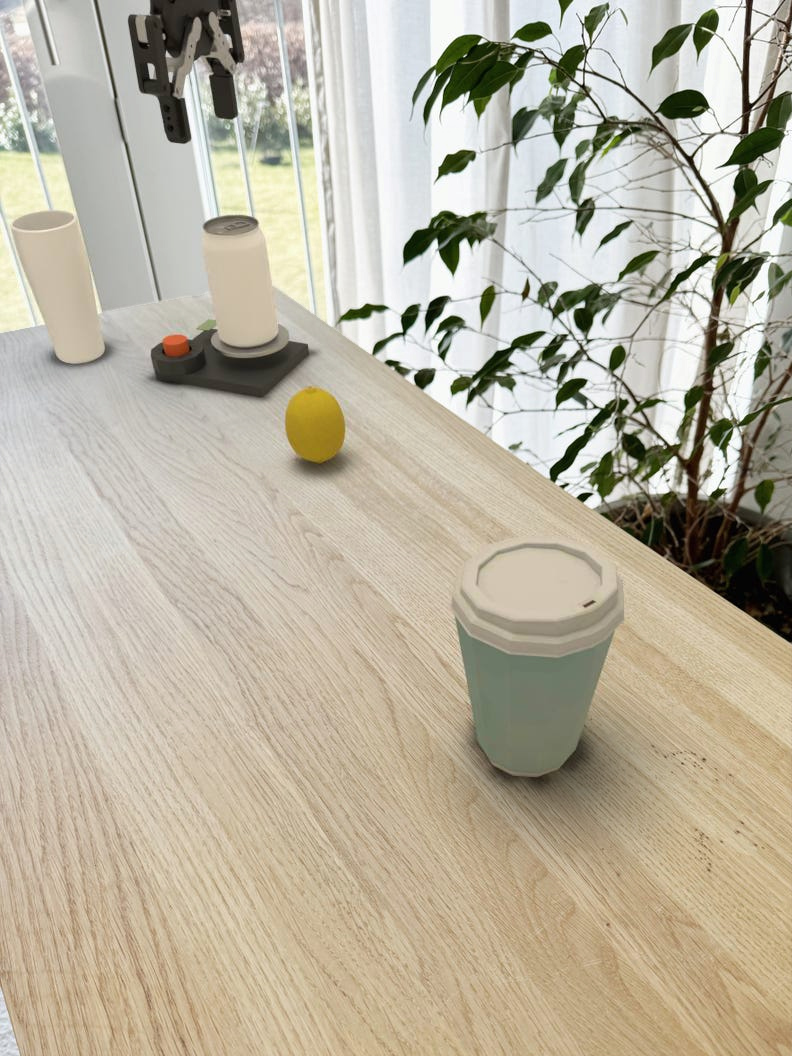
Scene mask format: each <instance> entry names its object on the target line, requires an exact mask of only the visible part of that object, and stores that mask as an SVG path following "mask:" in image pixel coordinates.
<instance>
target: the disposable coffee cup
mask: <svg viewBox="0 0 792 1056" xmlns="http://www.w3.org/2000/svg"><path fill="white" fill-rule="evenodd" d="M623 580H624V579H622V578H621V577H620V576H619V574H618V566H617V565H616V564H615V563H613V561H611V560H610V559H609V558H608V557H607V556H605V554H603V553H602V552H601V551H600V550H599V549H598V548H597V547H595V546H593V545H590V544H587V543H583V542H580V541H577V540H575V539H571V538H568V537H565V536H561V535H528V534H527V535H526V534H522V535H519V536H515V537H511V538H507V539H504V540H499V541H496V542H492V543H489V544H487V545H486V546H484V547H482V548H481V549H480V550H478V551H477V552H476V553H475V554H474V555H472V557H470V558H469V559H468V560H466V561H465V562H464V563H463V564H461V565H460V566H459V567H458V568H457V569H456V573H455V579H454V582H453V587H452V593H451V599H450V605H449V609H450V610H451V612H452V614H453V615H454V619H455V625H456V629H457V631H456V632H457V636H458V642H459V646H460V652H461V658H462V663H463V668H464V673H465V679H466V686H467V691H468V695H469V701H470V707H471V712H472V717H473V723H474V728H475V734H476V739H477V743H478V744H479V746H480V748H481V749H482V751H483V753H484V754H485V755H486V757H487V759H488V760H489V762H490V764H491V765H492V766H493V767H495V768H497V769H499V770H501V771H503V772H504V773H507V774H509V775H511V776H514V777H515V776H516V777H529V778H539V777H541V776H543V775H547V774H549V773H552V772H555V771H558V770H559V769H560V768H561V767H562V766H563V765H564V764H565V762H567V760H568V759H569V758H570V757H571V755H572V754H573V753H574V752H575V751H576V750H577V747H578V744H579V741H580V738H581V735H582V733H583V732H582V731H583V729H584V726H585V723H586V719H587V717H588V713H589V712H590V711H589V710H590V708H591V705H592V702H593V698H594V695H595V692H596V690H597V687H598V684H599V681H600V677H601V674H602V671H603V668H604V666H605V662H606V659H607V656H608V653H609V650H610V647H611V644H612V641H613V638H614V636H615V635H614V634H615V632H616V630H617V629H618V628H619V627H620V626H621V624H622V623H623V622H624V621H625V596H624V595H625V594H624V593H625V592H624V581H623Z"/></svg>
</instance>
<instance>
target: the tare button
mask: <svg viewBox="0 0 792 1056" xmlns="http://www.w3.org/2000/svg"><path fill="white" fill-rule="evenodd" d="M187 339H188V337H187V336H186V335H184V334H177V333H176V334H170V335H166V336H165V337H163V338H162V340H161V341H162V342H161V343H163V347H164V351H165V355H166V356H171V357H176V356H182V355H185V354H188V353H189V352H190V350H189V345H188V340H187Z"/></svg>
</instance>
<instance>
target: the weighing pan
mask: <svg viewBox="0 0 792 1056" xmlns="http://www.w3.org/2000/svg"><path fill="white" fill-rule="evenodd" d="M215 327H217V325H216V320H215V319H211V318H208V319H206V320H205V321H203V322H202V323H201V324H200V325H198V326H197V327H196V328H195V329H196V330H199V331H209V330H211V329H214V328H215ZM289 341H290V332H289V331H288V329H287V328H286V327H285V326H283V325H281V324H279V323H278V334H277V335H276V337H275V339H274V340H273V341H271V342H270V343H268V344H265V345H263V346H259V347H254V348H236V347H232V346H229V345H227V344H225V343H224V342H223V341H221V340H220V338H219V335H218V331H217V332H215V333H214V335H213V336H212V338H211V344H212V348H213V349H214V350H215V351H216V352H217V353H219V354H221V355H224V356H228V357H233V358H254V357H261V356H265V355H269V354H272V353H274V352H277V351H279V350H280V349H282V348H283V347H285V346H286V345H287V343H288V342H289Z"/></svg>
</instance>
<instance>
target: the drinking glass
mask: <svg viewBox="0 0 792 1056" xmlns="http://www.w3.org/2000/svg"><path fill="white" fill-rule="evenodd" d="M77 217H78V216H76V214H75V213H73V212H71V211H68V210H63V209H44V210H43V209H42V210H36V211H31V212H27V213H24V214H21V215H19V216H17V217H15V218H13V220H11V222H10V224H9V226H10V230H11V235H12V238H13V242H14V246H15V251H16V253H17V256H18V259H19V262H20V265H21V268H22V270H23V272H24V276H25V277H26V280H27V283H28V285H29V287H30V290H31V293H32V295H33V297H34V300H35V303H36V305H37V307H38V310H39V313H40V315H41V317H42V320H43V323H44V325H45V327H46V329H47V333H48V336H49V338H50V339H51V340H50V341H51V344H52V346H53V350H54V354H55V355H56V357H57V358H58V360H60V362H63V363H66V364H72V365H76V364H77V365H78V364H86V363H90V362H93V361H95V360H97V359H100V357H102V356H103V355H104V353H105V350H106V345H105V342H104V337H103V334H102V330H101V324H100V319H99V313H98V308H97V302H96V297H95V291H94V285H93V279H92V273H91V268H90V262H89V257H88V252H87V248H86V245H85V240H84V236H83V233H82V230H81V227H80V224H79V220H78V218H77Z"/></svg>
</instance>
